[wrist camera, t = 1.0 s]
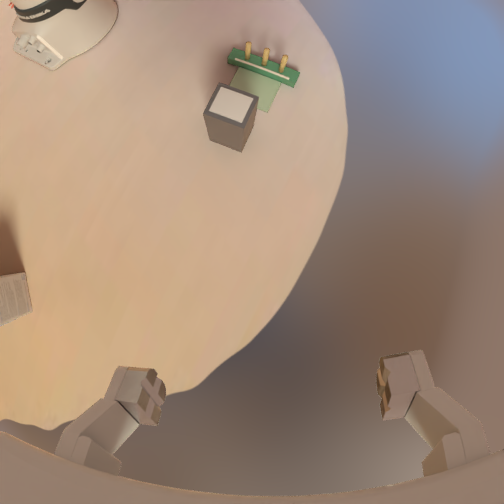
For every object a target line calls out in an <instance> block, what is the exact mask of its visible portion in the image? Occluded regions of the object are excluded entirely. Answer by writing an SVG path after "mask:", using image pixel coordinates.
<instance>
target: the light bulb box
mask: <svg viewBox="0 0 504 504" xmlns="http://www.w3.org/2000/svg"><path fill="white" fill-rule="evenodd" d="M29 313H32V306H31V301H30V296H29V291H28V286H27V280H26V274H25V272H21V273H15V274H9V275H3V276H0V326H2V325H4V324H6V323H9V322H11V321H13V320H15V319H18V318H20V317H22V316H25V315H27V314H29Z"/></svg>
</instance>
